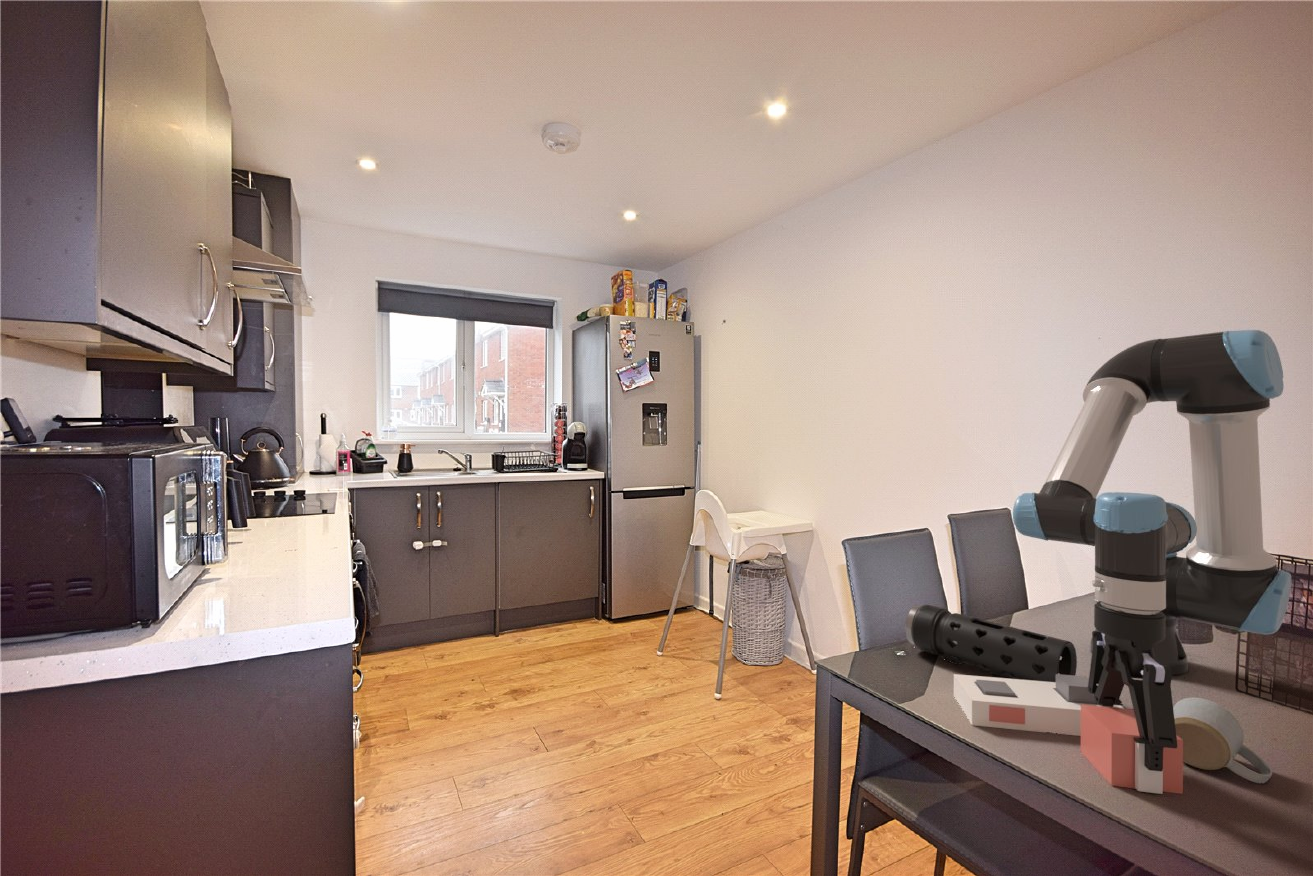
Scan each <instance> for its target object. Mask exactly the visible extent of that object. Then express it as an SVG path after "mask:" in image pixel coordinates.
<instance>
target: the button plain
mask: <svg viewBox="0 0 1313 876" xmlns="http://www.w3.org/2000/svg"><path fill="white" fill-rule="evenodd" d="M1088 682H1089V677H1087V676H1084V675H1075V676H1074V675H1061V674H1059V673H1058V674H1056V692H1057V693H1058V694H1059V695H1061V696H1062V697H1063V698H1064V699H1065V700H1066V701H1067V702H1073V703H1084V704H1096V705H1098V703H1096V702H1095V699H1094V696H1095V695H1094V694H1091V693H1089V691H1088ZM1096 686H1098V684H1096Z"/></svg>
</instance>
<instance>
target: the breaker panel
mask: <svg viewBox="0 0 1313 876" xmlns="http://www.w3.org/2000/svg"><path fill="white" fill-rule="evenodd" d="M976 680H988V681H1000V682H1005V683H1006V684H1007V685H1008V686H1009V687H1010V688H1011V689H1012V691H1013V692H1014V693H1015V697H1004V696H993V695H984V694H983V693H982V692H981V690H980V689H979V688H978V686H977V685H976ZM954 697H955V698H954ZM953 698H954V700H955V701H956V700H957V701H956V703H957V702H958V703H959V704H958V703H957V704H958V706H959V705H960V706H961V707H960V706H959V707H960V709H961V708H962V709H961V711H962V712H963V711H964V712H963V713H965V714H966V715H965V714H964V715H965V717H966V716H967V717H966V718H967V719H969V720H968V721H969V723H970V725H971V724H972V725H971V726H976V727H986V728H988V727H989V728H995V729H996V728H997V729H1008V730H1017V731H1026V732H1027V731H1028V732H1035V733H1037V732H1039V733H1046V732H1050V733H1049V734H1056V733H1057V735H1058V734H1060V735H1067V736H1068V735H1069V736H1076V737H1077V736H1079V737H1081V705H1091V706H1097V705H1096V704H1084V703H1073V702H1067V701H1066V700H1065V699H1064V698H1063V697H1062V696H1061V695H1059V694H1058V693H1057V692H1056V682H1045V681H1033V680H1020V679H1008V678H1005V677H995V676H994V677H993V676H984V675H983V676H981V675H980V676H979V675H969V674H968V675H967V674H957V673H956V674H954V673H953ZM1113 707H1119V708H1124V707H1123V706H1120V705H1113ZM1051 732H1052V733H1051Z"/></svg>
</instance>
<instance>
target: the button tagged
mask: <svg viewBox="0 0 1313 876" xmlns="http://www.w3.org/2000/svg"><path fill="white" fill-rule="evenodd" d="M976 685H977V686H978V688H979V689H980V690H981V692H982V693H983V694H984V695H993V696H1004V697H1015V693H1014V692H1013V691H1012V689H1011V688H1010V687H1009V686H1008V685H1007V684H1006V683H1005V682H1000V681H988V680H976Z"/></svg>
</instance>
